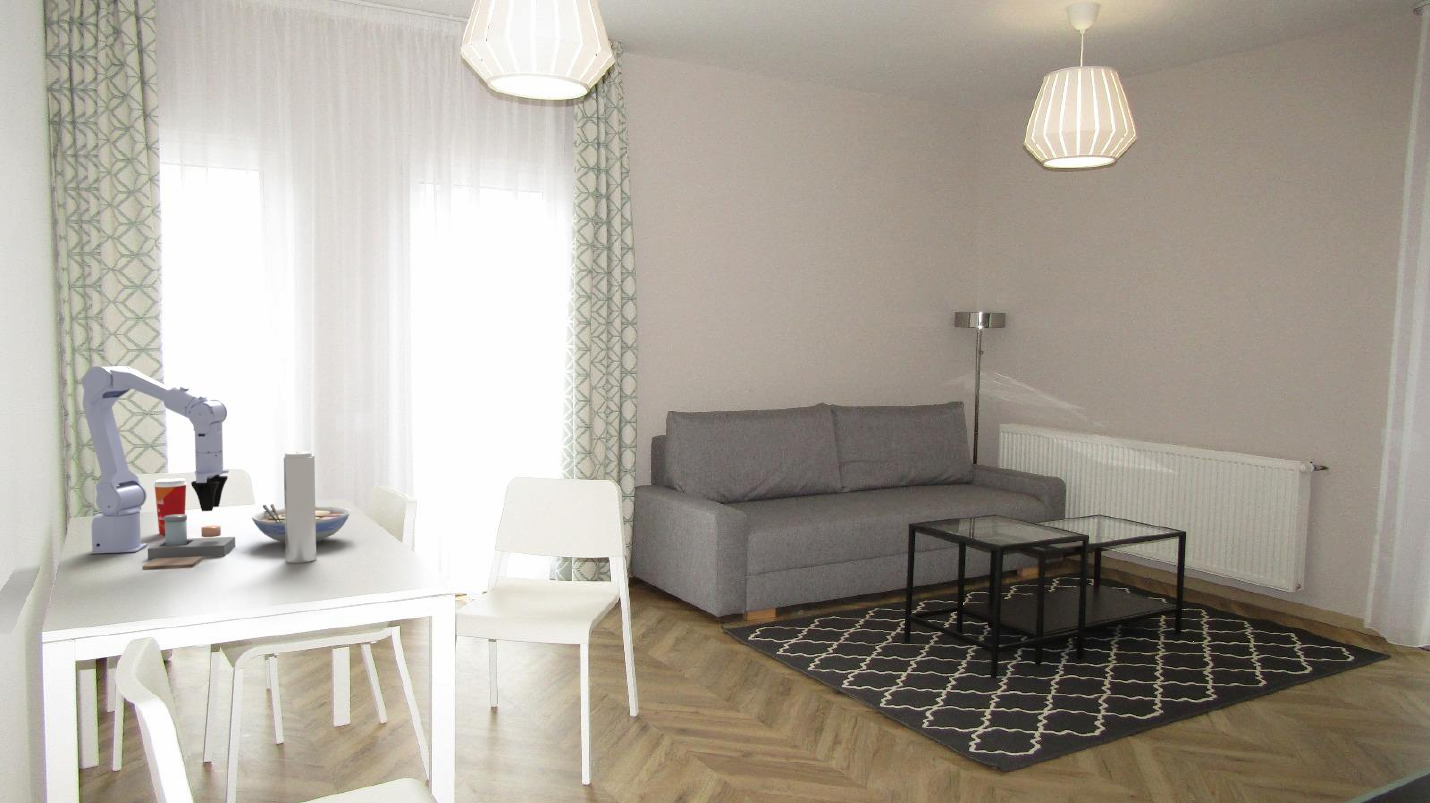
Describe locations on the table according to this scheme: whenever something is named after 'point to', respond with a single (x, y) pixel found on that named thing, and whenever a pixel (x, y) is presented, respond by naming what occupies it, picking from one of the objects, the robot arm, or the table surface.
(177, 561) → the walnut pad
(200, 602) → the table surface
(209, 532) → the plunger
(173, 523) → the cylinder
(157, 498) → the paper cup
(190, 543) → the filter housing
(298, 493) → the air filter
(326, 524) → the ramen bowl
